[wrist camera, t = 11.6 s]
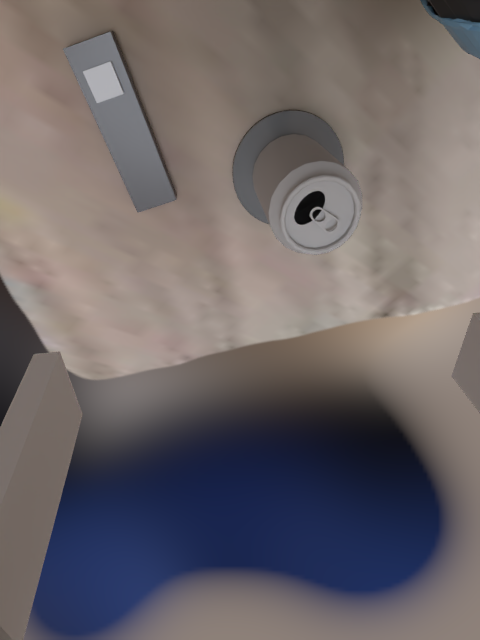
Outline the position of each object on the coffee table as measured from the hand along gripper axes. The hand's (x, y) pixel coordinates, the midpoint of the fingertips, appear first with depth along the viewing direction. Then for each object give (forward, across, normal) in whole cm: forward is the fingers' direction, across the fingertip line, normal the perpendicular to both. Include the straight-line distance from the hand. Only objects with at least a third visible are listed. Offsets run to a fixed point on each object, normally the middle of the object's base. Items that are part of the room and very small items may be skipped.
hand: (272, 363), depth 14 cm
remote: (+32, -8, +2) cm, 33 cm away
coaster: (+32, +7, -3) cm, 33 cm away
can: (+31, +7, -3) cm, 32 cm away
